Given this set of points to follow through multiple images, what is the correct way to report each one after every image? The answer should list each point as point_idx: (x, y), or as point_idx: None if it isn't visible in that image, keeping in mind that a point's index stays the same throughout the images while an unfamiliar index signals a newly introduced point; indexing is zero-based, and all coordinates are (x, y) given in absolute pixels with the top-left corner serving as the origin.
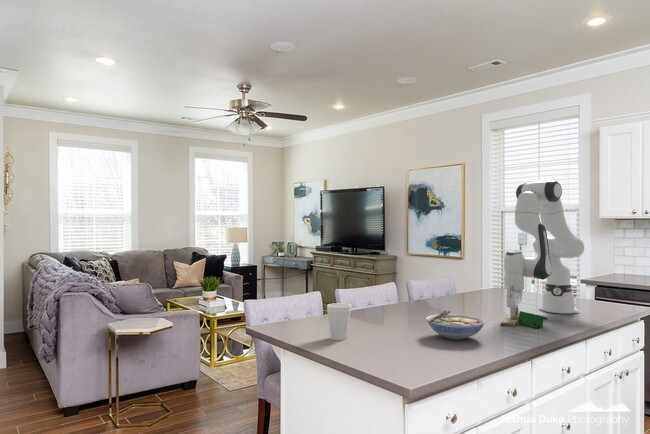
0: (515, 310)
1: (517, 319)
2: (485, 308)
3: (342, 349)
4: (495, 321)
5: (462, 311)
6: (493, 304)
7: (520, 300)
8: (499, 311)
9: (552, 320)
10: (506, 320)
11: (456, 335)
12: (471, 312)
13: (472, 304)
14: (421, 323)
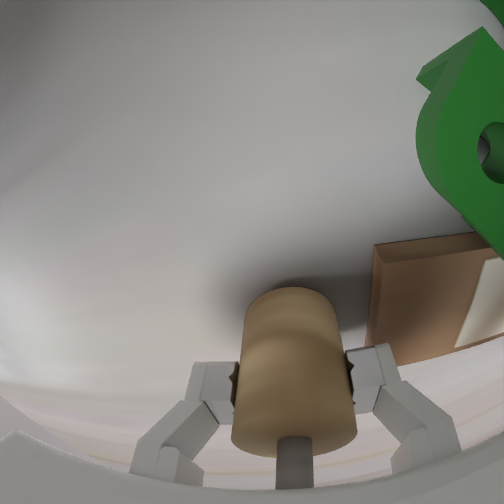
0: (352, 405)
1: (403, 280)
2: (87, 431)
3: None
4: (425, 376)
5: (227, 474)
6: (16, 401)
7: (50, 478)
8: (77, 402)
9: (14, 20)
10: (487, 327)
11: None
12: (219, 464)
13: (79, 444)
14: (493, 435)
